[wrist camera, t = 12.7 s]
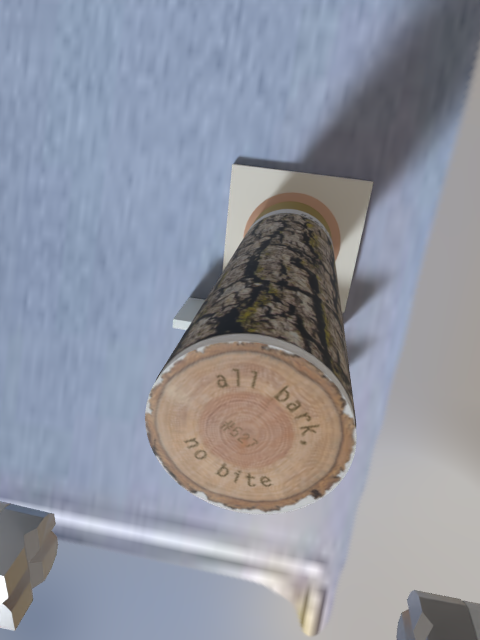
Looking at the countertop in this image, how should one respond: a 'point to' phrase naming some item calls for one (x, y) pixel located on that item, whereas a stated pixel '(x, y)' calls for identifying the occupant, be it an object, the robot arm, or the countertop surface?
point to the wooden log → (261, 376)
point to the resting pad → (311, 189)
